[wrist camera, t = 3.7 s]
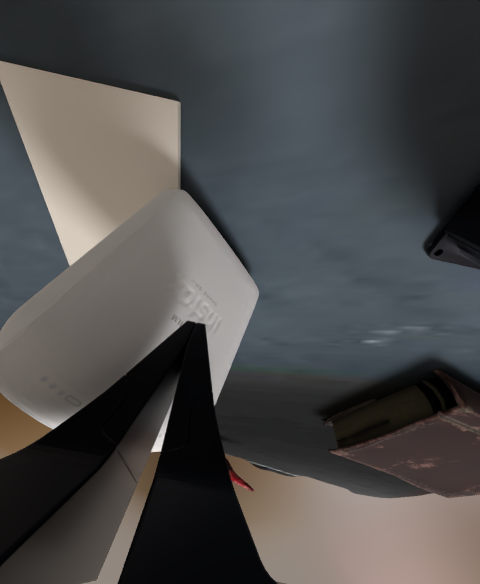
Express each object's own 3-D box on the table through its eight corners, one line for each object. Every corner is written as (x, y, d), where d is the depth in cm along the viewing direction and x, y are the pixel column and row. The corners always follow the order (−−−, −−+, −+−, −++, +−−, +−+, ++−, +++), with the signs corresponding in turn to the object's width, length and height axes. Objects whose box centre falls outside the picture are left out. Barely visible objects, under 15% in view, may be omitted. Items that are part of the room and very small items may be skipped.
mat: (180, 102, 11) (178, 101, 11) (180, 311, 21) (178, 313, 21) (-1, 61, 11) (-9, 58, 11) (82, 291, 21) (80, 293, 21)
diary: (436, 360, 22) (474, 408, 18) (559, 430, 28) (610, 479, 24) (318, 418, 33) (325, 458, 29) (424, 461, 38) (443, 499, 34)
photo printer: (269, 294, 17) (195, 486, 10) (230, 299, 20) (151, 452, 13) (185, 172, 12) (-109, 401, 4) (148, 202, 14) (-72, 374, 7)
